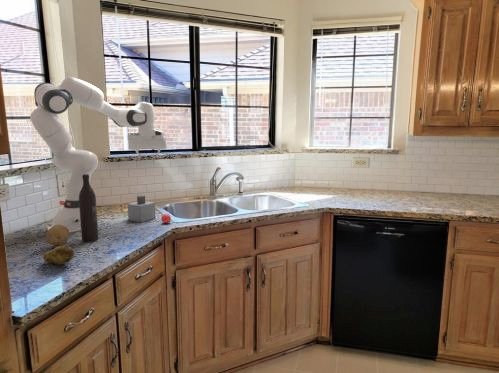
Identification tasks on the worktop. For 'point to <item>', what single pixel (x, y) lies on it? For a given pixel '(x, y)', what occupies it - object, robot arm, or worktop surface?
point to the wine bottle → (88, 211)
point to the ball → (166, 218)
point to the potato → (59, 255)
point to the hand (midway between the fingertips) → (148, 157)
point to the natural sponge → (57, 235)
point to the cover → (141, 210)
